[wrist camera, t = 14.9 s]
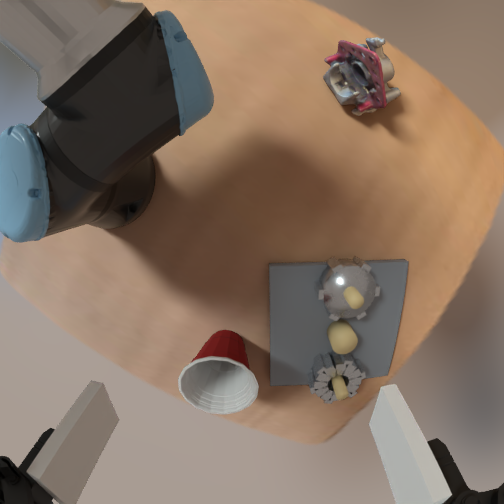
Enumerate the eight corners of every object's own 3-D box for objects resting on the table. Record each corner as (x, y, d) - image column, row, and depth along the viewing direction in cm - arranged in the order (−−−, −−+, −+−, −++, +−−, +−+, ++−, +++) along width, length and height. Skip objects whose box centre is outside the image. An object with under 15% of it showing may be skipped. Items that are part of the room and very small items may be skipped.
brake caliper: (296, 64, 32) (355, 16, 22) (335, 61, 37) (386, 26, 27) (340, 129, 34) (410, 93, 24) (371, 116, 40) (428, 88, 29)
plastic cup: (249, 376, 47) (245, 424, 35) (191, 359, 46) (173, 403, 35) (269, 326, 44) (269, 371, 32) (204, 307, 44) (184, 347, 32)
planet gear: (305, 391, 45) (307, 405, 41) (308, 349, 43) (312, 363, 39) (354, 386, 45) (360, 399, 41) (362, 344, 43) (370, 357, 39)
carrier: (270, 380, 47) (270, 413, 38) (269, 263, 42) (269, 282, 33) (384, 370, 46) (400, 398, 37) (404, 259, 41) (430, 275, 32)
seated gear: (312, 310, 42) (317, 322, 38) (315, 256, 40) (320, 264, 36) (367, 307, 41) (376, 318, 37) (372, 255, 39) (382, 262, 35)
